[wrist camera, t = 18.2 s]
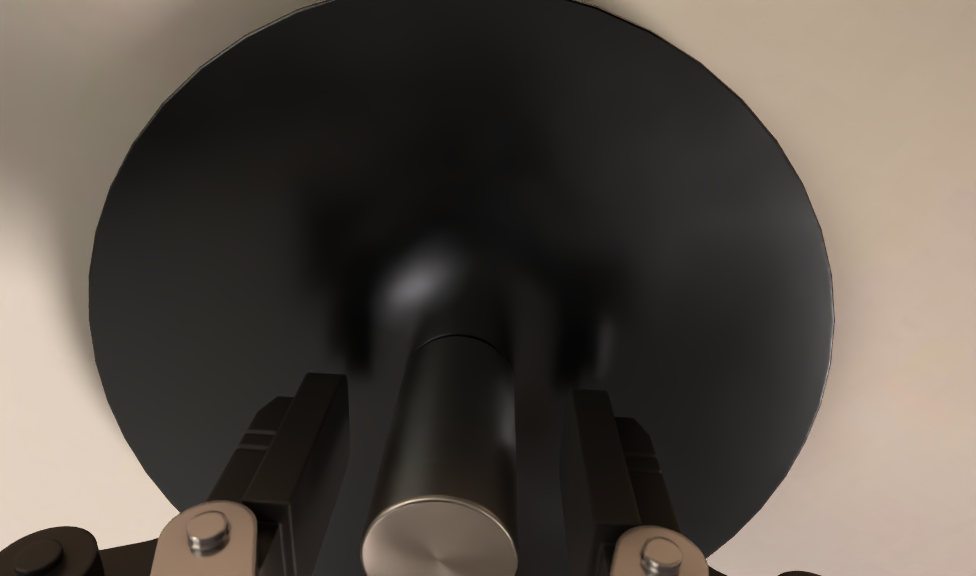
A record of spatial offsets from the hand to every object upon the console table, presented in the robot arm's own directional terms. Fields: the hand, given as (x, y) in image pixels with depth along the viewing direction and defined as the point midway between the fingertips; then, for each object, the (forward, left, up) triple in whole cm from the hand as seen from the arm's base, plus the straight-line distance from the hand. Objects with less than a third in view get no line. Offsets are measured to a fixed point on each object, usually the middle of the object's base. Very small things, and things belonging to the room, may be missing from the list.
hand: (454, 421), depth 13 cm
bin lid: (0, 0, -2) cm, 2 cm away
